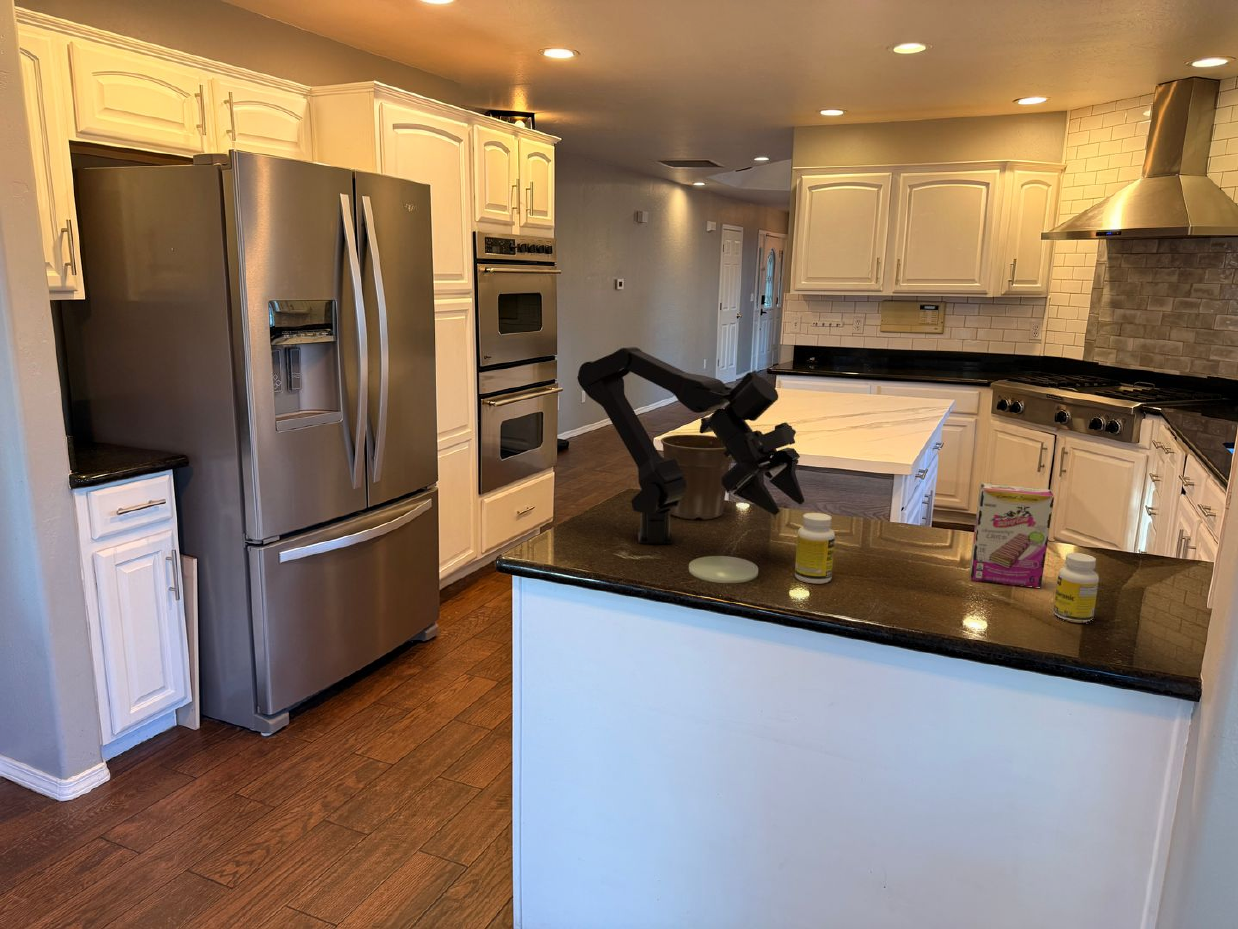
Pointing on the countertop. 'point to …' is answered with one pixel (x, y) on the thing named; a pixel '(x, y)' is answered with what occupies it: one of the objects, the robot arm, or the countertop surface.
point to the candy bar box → (1011, 534)
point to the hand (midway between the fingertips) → (790, 508)
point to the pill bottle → (815, 549)
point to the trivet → (723, 569)
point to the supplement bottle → (1076, 588)
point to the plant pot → (699, 474)
